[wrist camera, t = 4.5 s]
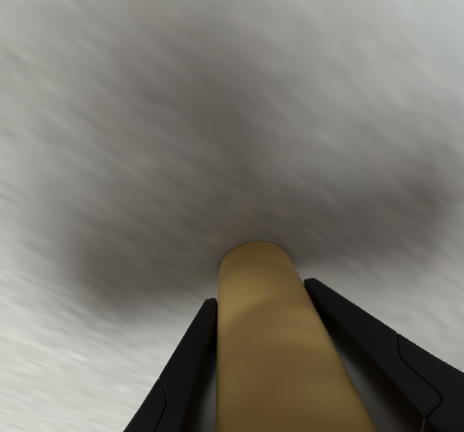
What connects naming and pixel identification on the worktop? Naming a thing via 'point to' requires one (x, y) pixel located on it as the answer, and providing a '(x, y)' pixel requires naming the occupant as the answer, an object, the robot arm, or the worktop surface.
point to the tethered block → (277, 352)
